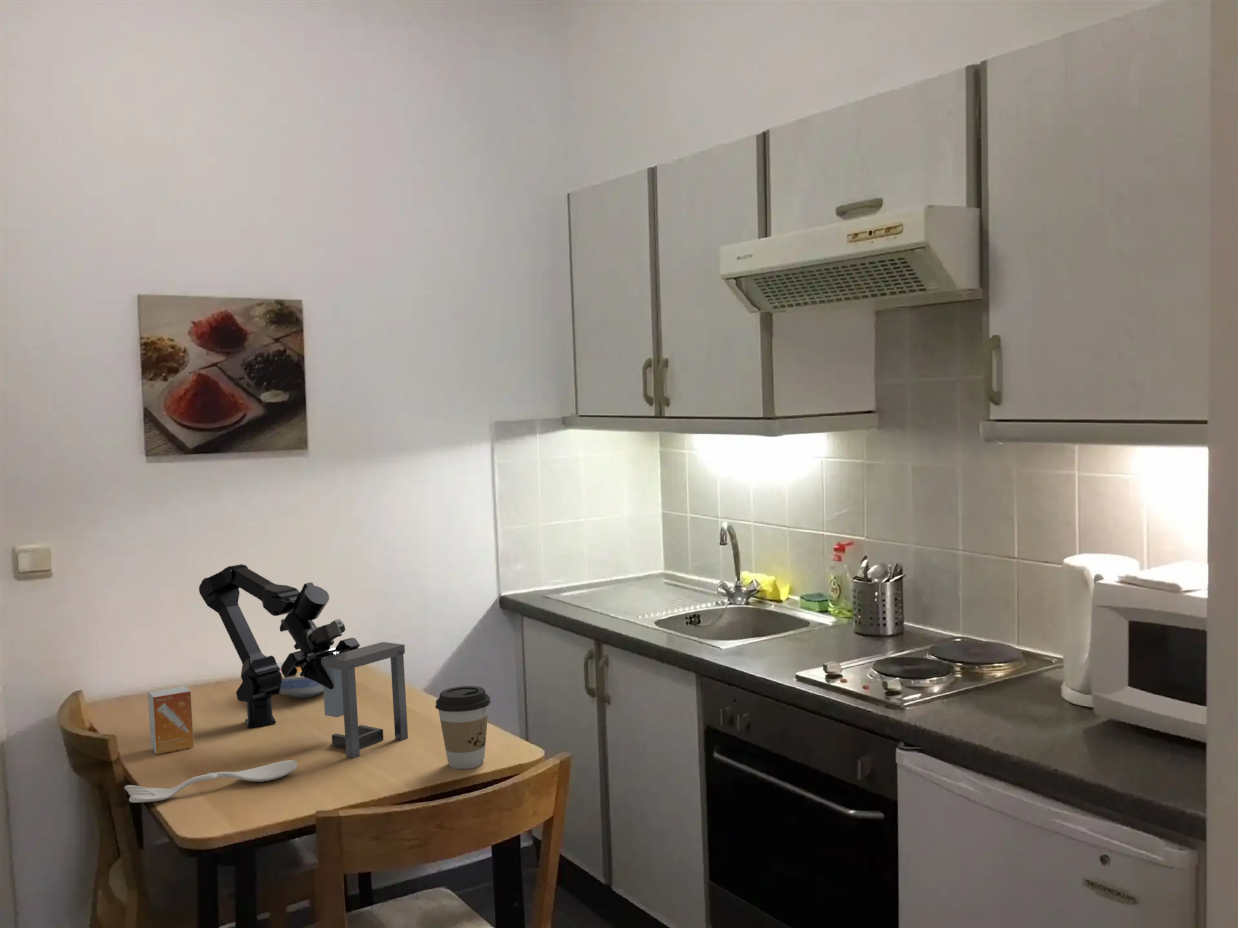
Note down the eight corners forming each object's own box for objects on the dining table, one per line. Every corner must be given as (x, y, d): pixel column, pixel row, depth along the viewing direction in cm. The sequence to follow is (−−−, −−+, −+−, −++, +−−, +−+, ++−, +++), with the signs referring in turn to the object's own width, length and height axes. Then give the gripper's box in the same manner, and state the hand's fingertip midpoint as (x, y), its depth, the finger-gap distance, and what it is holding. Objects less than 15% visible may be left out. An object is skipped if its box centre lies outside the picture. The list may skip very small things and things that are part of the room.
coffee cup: (469, 775, 218) (465, 701, 217) (426, 768, 224) (422, 695, 223) (505, 758, 227) (501, 687, 226) (462, 751, 233) (459, 682, 233)
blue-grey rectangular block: (325, 715, 246) (321, 657, 245) (339, 710, 249) (335, 654, 249) (336, 717, 244) (333, 659, 243) (350, 712, 247) (347, 655, 246)
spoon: (125, 801, 213) (123, 783, 213) (292, 767, 229) (291, 751, 229) (130, 814, 205) (128, 796, 205) (302, 779, 221) (301, 762, 221)
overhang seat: (313, 750, 239) (307, 655, 238) (372, 730, 253) (367, 639, 252) (350, 758, 232) (345, 660, 231) (409, 737, 246) (404, 644, 245)
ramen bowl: (285, 682, 303) (283, 653, 302) (364, 681, 300) (363, 652, 299) (242, 707, 278) (240, 675, 278) (328, 707, 275) (326, 674, 275)
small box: (156, 755, 241) (152, 696, 240) (150, 748, 246) (146, 691, 245) (194, 747, 245) (191, 690, 245) (188, 741, 251) (184, 685, 250)
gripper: (285, 617, 240) (322, 672, 234) (352, 602, 255) (387, 654, 249) (265, 649, 245) (300, 704, 239) (331, 633, 260) (366, 684, 254)
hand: (340, 685), depth 245 cm, fingers closed on blue-grey rectangular block, 4 cm apart
